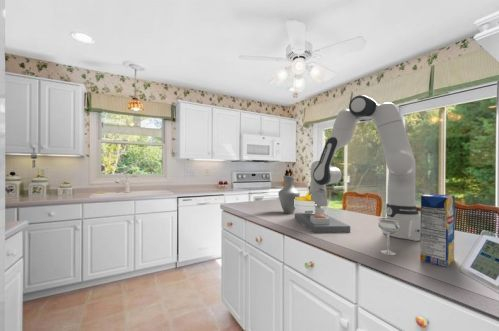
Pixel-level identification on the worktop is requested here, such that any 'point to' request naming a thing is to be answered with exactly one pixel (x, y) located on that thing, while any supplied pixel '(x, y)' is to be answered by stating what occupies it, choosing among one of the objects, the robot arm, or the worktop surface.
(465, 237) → the worktop surface
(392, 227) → the wineglass
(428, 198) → the beverage box
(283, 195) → the vase
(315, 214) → the push button
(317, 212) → the paddle
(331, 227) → the panel
